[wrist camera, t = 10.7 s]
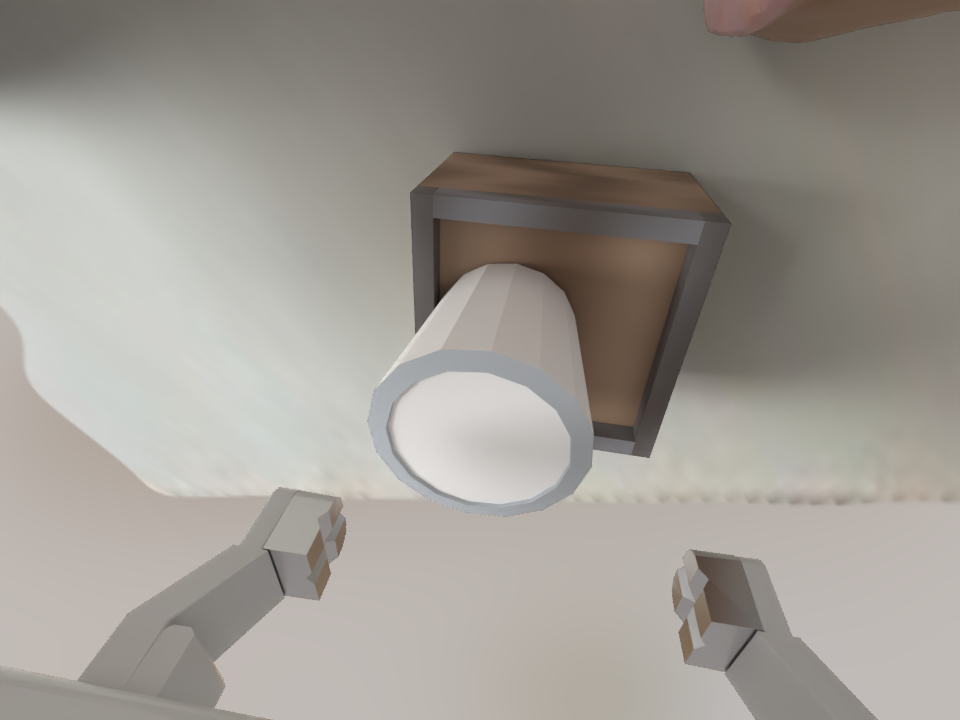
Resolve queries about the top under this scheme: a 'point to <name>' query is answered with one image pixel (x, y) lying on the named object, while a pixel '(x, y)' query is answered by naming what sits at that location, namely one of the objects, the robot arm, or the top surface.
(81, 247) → the top surface
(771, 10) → the face sculpture
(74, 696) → the robot arm
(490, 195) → the wooden box
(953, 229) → the top surface
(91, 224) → the top surface
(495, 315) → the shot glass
